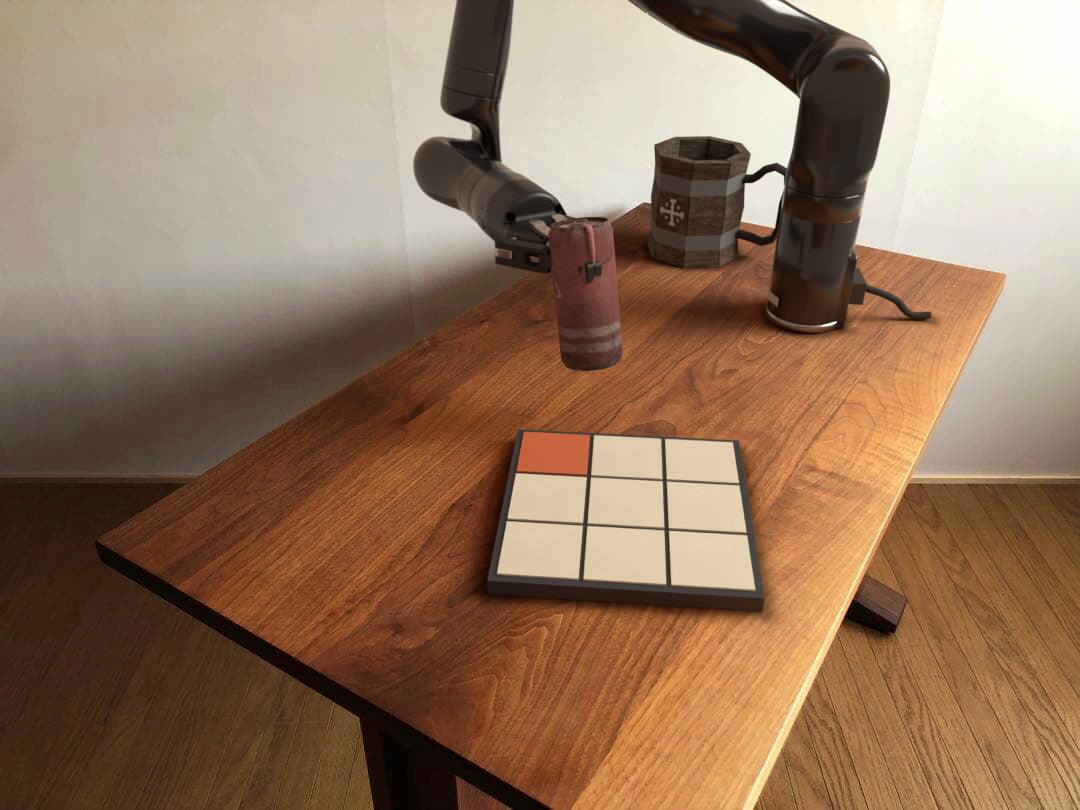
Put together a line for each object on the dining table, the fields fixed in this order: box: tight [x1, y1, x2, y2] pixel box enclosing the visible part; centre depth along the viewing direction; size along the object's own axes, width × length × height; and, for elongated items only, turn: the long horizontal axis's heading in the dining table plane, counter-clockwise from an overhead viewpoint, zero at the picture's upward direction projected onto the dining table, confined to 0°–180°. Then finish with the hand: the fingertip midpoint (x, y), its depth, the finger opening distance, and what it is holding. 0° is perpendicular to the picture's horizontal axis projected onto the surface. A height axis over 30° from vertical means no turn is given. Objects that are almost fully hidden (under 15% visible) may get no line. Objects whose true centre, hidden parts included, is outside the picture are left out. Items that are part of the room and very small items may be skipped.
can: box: [548, 216, 624, 372], centre depth 88 cm, size 6×6×14 cm
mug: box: [646, 135, 787, 269], centre depth 130 cm, size 20×14×15 cm
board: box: [486, 428, 766, 613], centre depth 82 cm, size 22×22×2 cm
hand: (594, 274), depth 84 cm, fingers closed
